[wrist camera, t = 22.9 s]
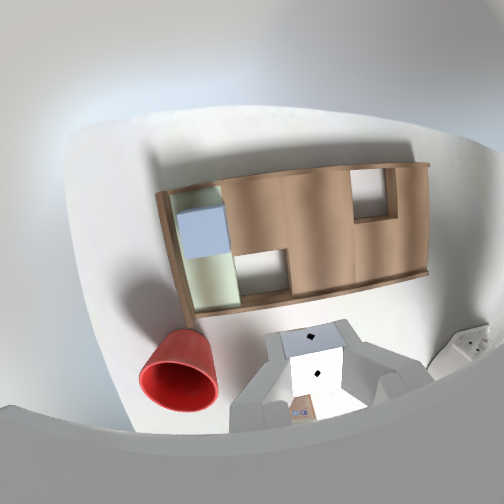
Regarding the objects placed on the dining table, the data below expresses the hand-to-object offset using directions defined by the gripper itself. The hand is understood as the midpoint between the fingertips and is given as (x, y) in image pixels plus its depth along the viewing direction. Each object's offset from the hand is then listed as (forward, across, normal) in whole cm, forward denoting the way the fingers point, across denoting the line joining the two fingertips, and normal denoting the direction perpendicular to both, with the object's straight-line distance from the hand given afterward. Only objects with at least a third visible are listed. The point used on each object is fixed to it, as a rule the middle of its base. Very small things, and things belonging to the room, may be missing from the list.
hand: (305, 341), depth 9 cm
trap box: (+27, -7, +3) cm, 28 cm away
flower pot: (+27, +14, +19) cm, 36 cm away
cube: (+24, +6, 0) cm, 25 cm away
